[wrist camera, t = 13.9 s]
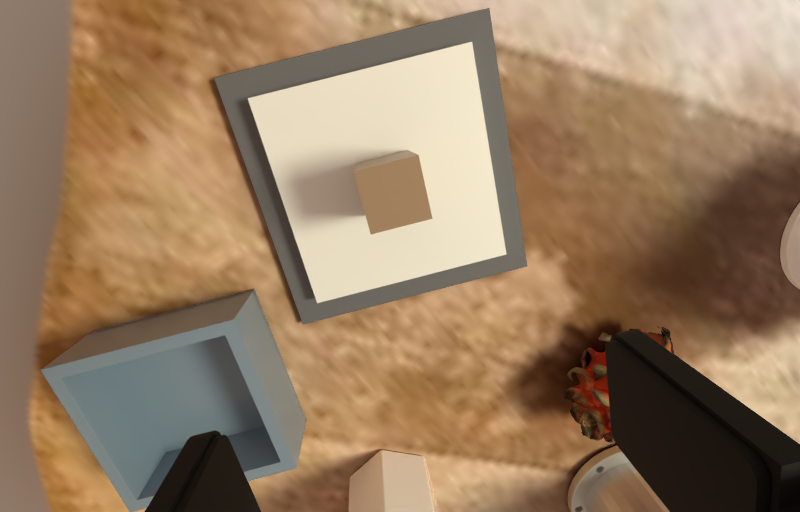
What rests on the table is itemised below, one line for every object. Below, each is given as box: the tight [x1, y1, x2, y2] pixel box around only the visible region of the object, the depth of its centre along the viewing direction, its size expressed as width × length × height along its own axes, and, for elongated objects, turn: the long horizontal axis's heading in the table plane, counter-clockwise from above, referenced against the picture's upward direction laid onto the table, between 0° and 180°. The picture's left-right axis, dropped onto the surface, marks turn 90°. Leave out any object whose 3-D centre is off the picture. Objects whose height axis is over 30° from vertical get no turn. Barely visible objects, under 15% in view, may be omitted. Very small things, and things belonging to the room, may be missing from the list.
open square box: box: [41, 289, 306, 512], centre depth 33 cm, size 14×14×6 cm
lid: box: [248, 42, 506, 303], centre depth 28 cm, size 16×16×7 cm
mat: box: [214, 8, 527, 324], centre depth 31 cm, size 20×20×1 cm
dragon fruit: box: [564, 327, 674, 443], centre depth 36 cm, size 8×8×12 cm
